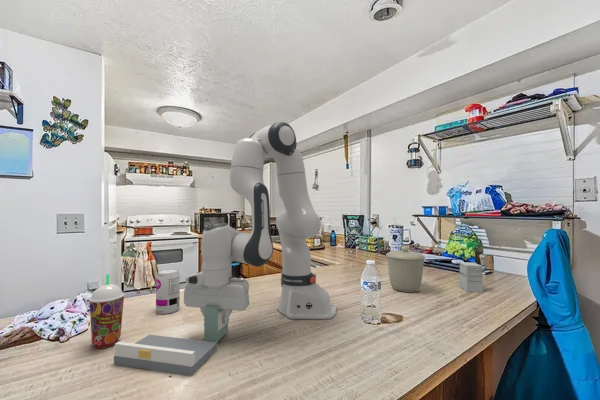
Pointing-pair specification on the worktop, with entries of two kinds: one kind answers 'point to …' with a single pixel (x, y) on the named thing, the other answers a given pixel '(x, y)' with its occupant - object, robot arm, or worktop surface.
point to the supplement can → (167, 291)
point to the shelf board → (165, 354)
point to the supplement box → (471, 277)
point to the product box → (214, 323)
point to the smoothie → (106, 314)
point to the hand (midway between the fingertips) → (216, 322)
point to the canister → (405, 269)
